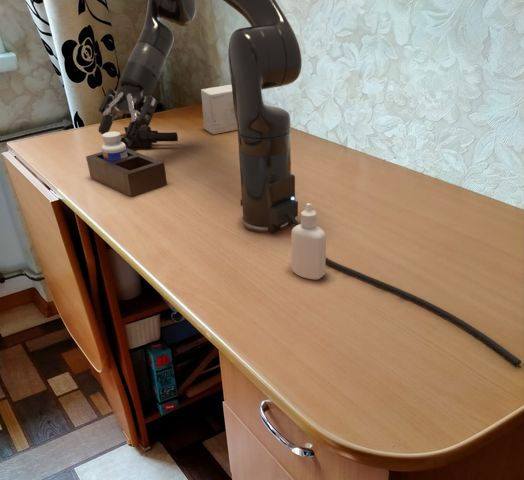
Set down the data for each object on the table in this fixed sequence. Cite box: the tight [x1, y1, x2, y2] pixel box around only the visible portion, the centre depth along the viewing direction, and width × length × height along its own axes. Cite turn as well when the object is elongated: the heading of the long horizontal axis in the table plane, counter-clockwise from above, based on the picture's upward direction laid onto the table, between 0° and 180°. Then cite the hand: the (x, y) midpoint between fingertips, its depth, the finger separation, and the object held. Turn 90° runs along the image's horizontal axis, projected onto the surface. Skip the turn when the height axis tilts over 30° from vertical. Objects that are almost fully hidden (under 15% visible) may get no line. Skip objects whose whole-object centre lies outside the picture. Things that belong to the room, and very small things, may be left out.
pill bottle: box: [101, 131, 128, 162], centre depth 130 cm, size 5×5×10 cm
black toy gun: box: [120, 125, 179, 149], centre depth 148 cm, size 5×20×15 cm
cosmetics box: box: [200, 84, 238, 135], centre depth 156 cm, size 10×6×10 cm, turn 119°
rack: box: [85, 148, 168, 198], centre depth 129 cm, size 17×9×5 cm, turn 44°
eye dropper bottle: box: [290, 202, 327, 281], centre depth 91 cm, size 4×6×12 cm
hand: (115, 137), depth 128 cm, fingers open, 8 cm apart
